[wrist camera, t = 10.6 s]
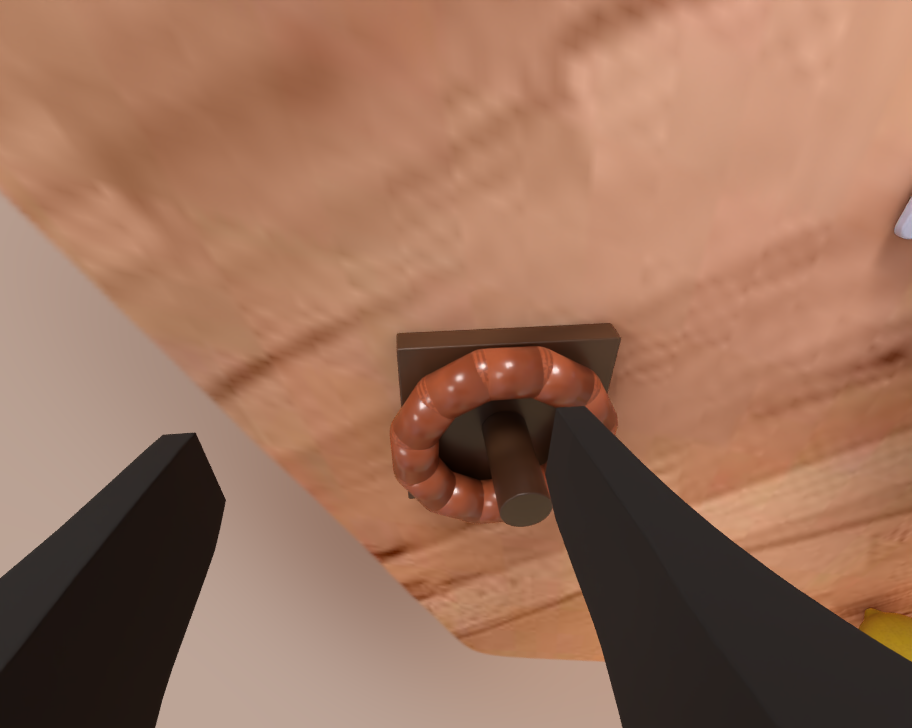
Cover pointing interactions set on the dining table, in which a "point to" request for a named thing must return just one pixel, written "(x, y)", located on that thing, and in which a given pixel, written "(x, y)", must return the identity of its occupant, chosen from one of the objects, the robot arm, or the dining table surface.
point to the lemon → (889, 630)
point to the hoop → (468, 389)
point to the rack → (505, 409)
